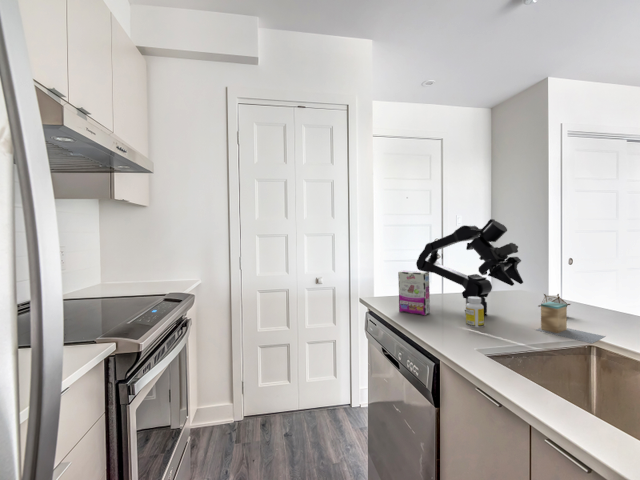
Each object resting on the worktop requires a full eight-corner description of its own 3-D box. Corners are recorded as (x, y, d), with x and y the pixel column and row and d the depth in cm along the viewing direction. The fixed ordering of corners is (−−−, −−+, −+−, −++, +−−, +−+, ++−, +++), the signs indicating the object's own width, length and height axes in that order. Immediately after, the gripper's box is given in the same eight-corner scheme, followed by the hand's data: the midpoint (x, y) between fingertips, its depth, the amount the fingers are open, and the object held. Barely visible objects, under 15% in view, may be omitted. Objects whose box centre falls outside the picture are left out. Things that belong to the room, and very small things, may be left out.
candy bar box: (430, 313, 120) (429, 271, 120) (425, 316, 116) (425, 273, 116) (403, 309, 127) (403, 270, 127) (398, 311, 124) (397, 271, 123)
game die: (554, 324, 115) (563, 301, 117) (569, 322, 107) (579, 298, 109) (530, 311, 117) (539, 289, 119) (543, 309, 109) (553, 285, 111)
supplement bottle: (482, 324, 104) (482, 296, 104) (485, 329, 99) (485, 299, 99) (465, 323, 106) (464, 295, 106) (467, 328, 101) (466, 298, 101)
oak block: (541, 329, 96) (540, 304, 96) (550, 326, 100) (549, 301, 99) (557, 333, 93) (557, 307, 92) (566, 329, 96) (566, 304, 95)
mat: (535, 331, 96) (535, 329, 96) (550, 326, 101) (550, 324, 101) (592, 345, 84) (592, 343, 84) (605, 338, 89) (605, 336, 89)
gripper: (486, 236, 104) (521, 271, 95) (515, 235, 114) (549, 267, 105) (465, 257, 111) (496, 292, 102) (494, 254, 121) (524, 286, 112)
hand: (517, 284), depth 105 cm, fingers open, 6 cm apart
